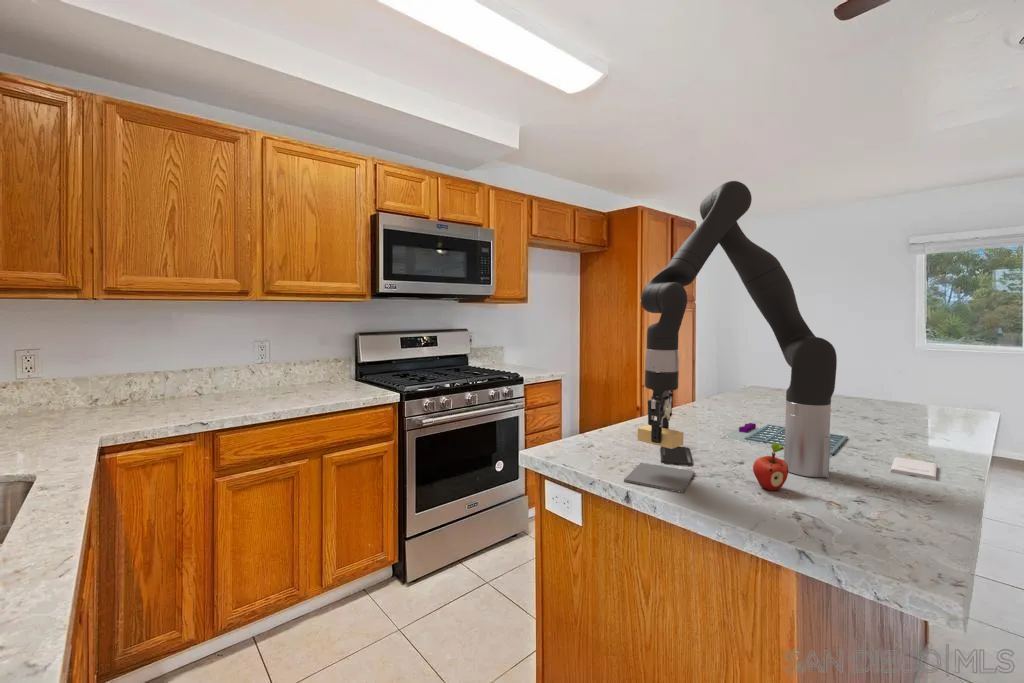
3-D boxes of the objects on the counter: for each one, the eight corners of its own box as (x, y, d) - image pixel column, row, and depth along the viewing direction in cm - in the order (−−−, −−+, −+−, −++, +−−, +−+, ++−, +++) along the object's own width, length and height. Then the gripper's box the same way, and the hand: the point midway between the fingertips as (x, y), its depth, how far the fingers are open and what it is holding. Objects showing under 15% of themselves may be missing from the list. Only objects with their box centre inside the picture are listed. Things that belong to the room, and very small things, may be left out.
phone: (689, 447, 132) (692, 463, 118) (689, 451, 132) (692, 467, 118) (660, 445, 134) (660, 460, 120) (660, 448, 134) (660, 464, 120)
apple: (788, 497, 98) (789, 450, 97) (751, 491, 101) (753, 446, 101) (787, 485, 105) (788, 441, 104) (753, 480, 108) (754, 437, 107)
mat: (694, 473, 112) (694, 471, 112) (682, 493, 100) (682, 490, 100) (640, 464, 119) (641, 462, 119) (623, 481, 107) (623, 479, 107)
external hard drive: (936, 469, 117) (935, 482, 108) (894, 462, 122) (890, 474, 113) (936, 463, 116) (936, 475, 107) (894, 456, 122) (890, 468, 113)
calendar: (829, 460, 124) (830, 451, 124) (720, 440, 144) (720, 432, 144) (847, 441, 143) (848, 433, 143) (749, 425, 163) (749, 418, 163)
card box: (649, 436, 114) (649, 424, 114) (683, 444, 107) (683, 432, 107) (637, 440, 111) (637, 428, 111) (671, 448, 104) (671, 435, 104)
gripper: (653, 364, 116) (652, 430, 117) (636, 370, 104) (635, 444, 105) (684, 366, 112) (682, 434, 113) (671, 373, 100) (669, 449, 101)
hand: (659, 438), depth 109 cm, fingers closed on card box, 6 cm apart
